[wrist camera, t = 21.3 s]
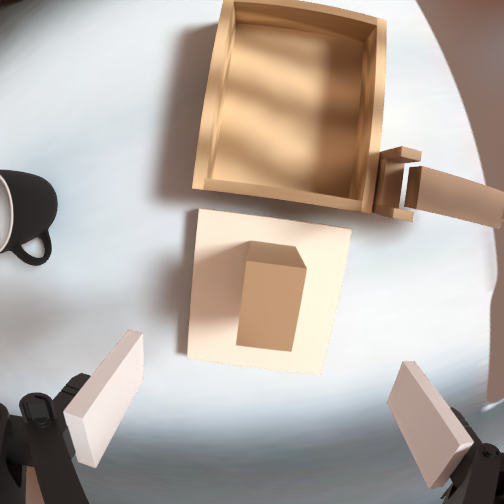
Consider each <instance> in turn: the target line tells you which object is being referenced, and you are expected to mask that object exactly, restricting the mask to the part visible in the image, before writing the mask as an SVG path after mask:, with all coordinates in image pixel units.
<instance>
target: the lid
mask: <svg viewBox="0 0 504 504" xmlns="http://www.w3.org/2000/svg"><path fill="white" fill-rule="evenodd" d="M351 233H352V229H350V228H345V227H338V226H332V225H325V224H319V223H312V222H305V221H298V220H291V219H284V218H276V217H269V216H262V215H254V214H246V213H239V212H231V211H223V210H214V209H206V208H200V209H199V214H198V223H197V233H196V243H195V254H194V265H193V277H192V289H191V303H190V317H189V333H188V351H187V358H190V359H196V360H202V361H208V362H215V363H221V364H228V365H235V366H243V367H251V368H259V369H268V370H277V371H288V372H299V373H311V374H321V371H322V368H323V364H324V360H325V356H326V352H327V348H328V344H329V340H330V336H331V332H332V327H333V323H334V319H335V314H336V310H337V305H338V301H339V296H340V291H341V286H342V281H343V276H344V271H345V266H346V261H347V256H348V250H349V244H350V239H351Z"/></svg>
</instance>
